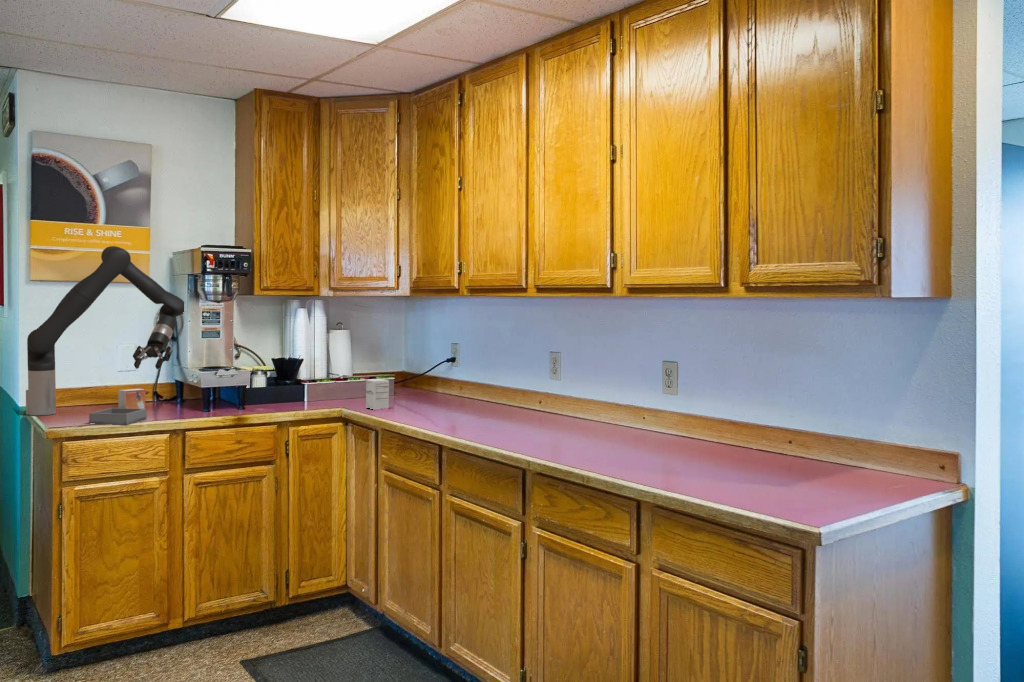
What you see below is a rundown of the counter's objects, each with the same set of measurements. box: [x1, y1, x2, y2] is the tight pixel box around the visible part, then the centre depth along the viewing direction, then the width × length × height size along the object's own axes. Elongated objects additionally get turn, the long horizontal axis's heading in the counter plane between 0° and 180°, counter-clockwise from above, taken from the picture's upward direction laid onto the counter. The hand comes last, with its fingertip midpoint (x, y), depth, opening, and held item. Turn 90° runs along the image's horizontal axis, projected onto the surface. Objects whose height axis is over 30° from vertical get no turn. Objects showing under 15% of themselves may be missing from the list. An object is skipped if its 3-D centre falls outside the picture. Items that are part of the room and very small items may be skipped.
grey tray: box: [88, 407, 148, 426], centre depth 298 cm, size 14×14×4 cm
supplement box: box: [365, 378, 390, 410], centre depth 340 cm, size 7×7×13 cm
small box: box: [117, 387, 146, 409], centre depth 311 cm, size 8×6×10 cm
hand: (146, 367), depth 321 cm, fingers open, 8 cm apart
